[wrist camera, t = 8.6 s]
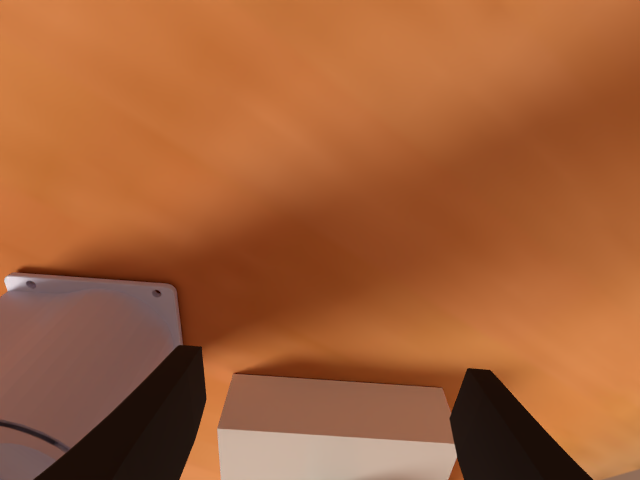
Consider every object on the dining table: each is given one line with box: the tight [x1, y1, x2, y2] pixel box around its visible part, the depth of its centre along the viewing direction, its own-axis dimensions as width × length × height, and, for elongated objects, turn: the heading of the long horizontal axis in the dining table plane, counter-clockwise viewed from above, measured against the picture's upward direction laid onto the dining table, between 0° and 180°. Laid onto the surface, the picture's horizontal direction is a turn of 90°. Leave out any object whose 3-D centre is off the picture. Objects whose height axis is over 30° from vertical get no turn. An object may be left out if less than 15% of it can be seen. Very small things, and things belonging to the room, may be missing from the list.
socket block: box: [217, 374, 457, 480], centre depth 26 cm, size 14×14×4 cm
